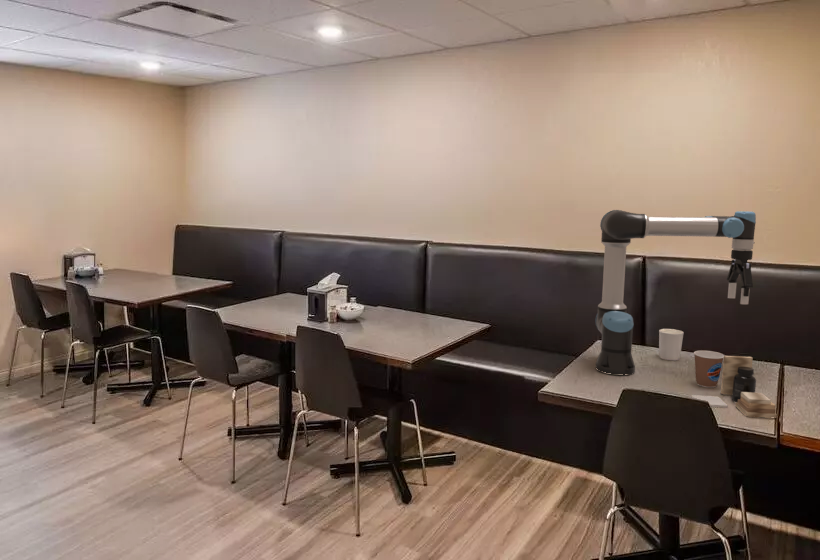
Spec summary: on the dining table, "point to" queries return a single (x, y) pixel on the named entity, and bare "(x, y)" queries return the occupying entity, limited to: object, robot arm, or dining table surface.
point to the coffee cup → (708, 368)
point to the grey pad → (712, 400)
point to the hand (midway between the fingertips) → (737, 301)
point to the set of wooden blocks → (749, 401)
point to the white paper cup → (670, 344)
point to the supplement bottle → (743, 382)
